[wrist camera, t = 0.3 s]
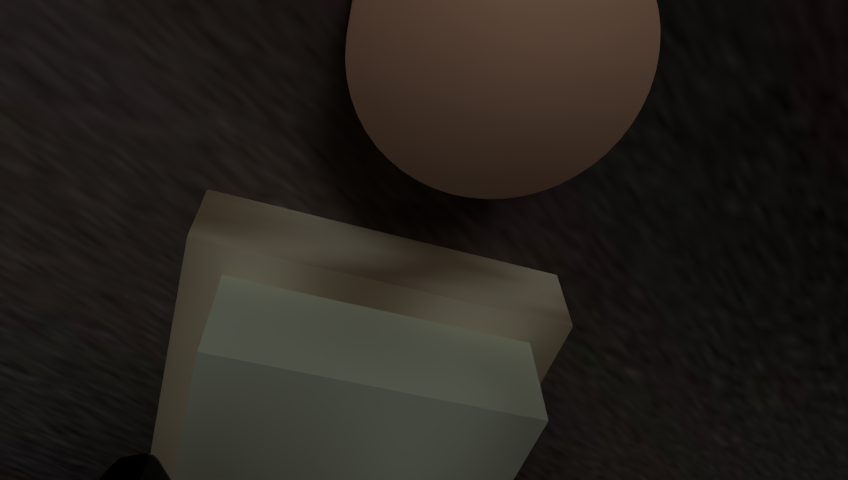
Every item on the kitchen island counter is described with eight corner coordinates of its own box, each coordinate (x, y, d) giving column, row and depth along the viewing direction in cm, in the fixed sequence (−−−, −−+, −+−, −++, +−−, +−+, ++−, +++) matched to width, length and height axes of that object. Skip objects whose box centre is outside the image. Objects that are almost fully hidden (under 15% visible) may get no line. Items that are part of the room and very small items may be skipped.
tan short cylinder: (639, -93, 17) (720, -44, 13) (540, 130, 20) (578, 227, 16) (395, -184, 16) (397, -161, 12) (330, 69, 19) (313, 157, 15)
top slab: (529, 342, 21) (548, 420, 19) (435, 522, 26) (439, 604, 23) (221, 274, 19) (197, 351, 17) (180, 481, 24) (156, 565, 22)
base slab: (553, 265, 23) (572, 326, 21) (444, 476, 29) (449, 543, 27) (211, 179, 21) (186, 236, 19) (166, 425, 27) (143, 494, 24)
